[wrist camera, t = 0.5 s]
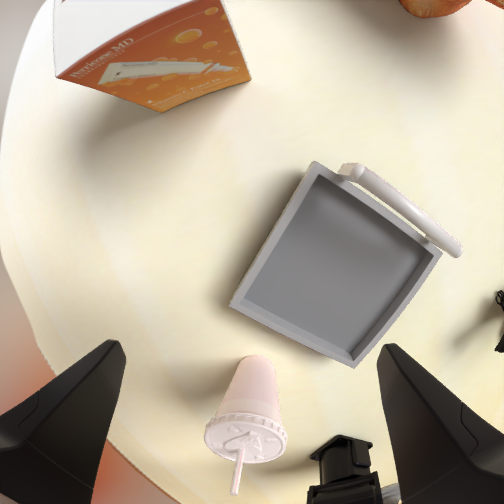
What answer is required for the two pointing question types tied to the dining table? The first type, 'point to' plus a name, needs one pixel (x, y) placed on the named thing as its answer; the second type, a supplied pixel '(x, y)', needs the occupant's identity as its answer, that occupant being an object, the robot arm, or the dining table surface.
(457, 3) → the ceramic vessel
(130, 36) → the small box
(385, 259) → the grey tray
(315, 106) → the dining table surface
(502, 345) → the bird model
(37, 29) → the dining table surface
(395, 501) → the mate gourd
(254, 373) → the smoothie
